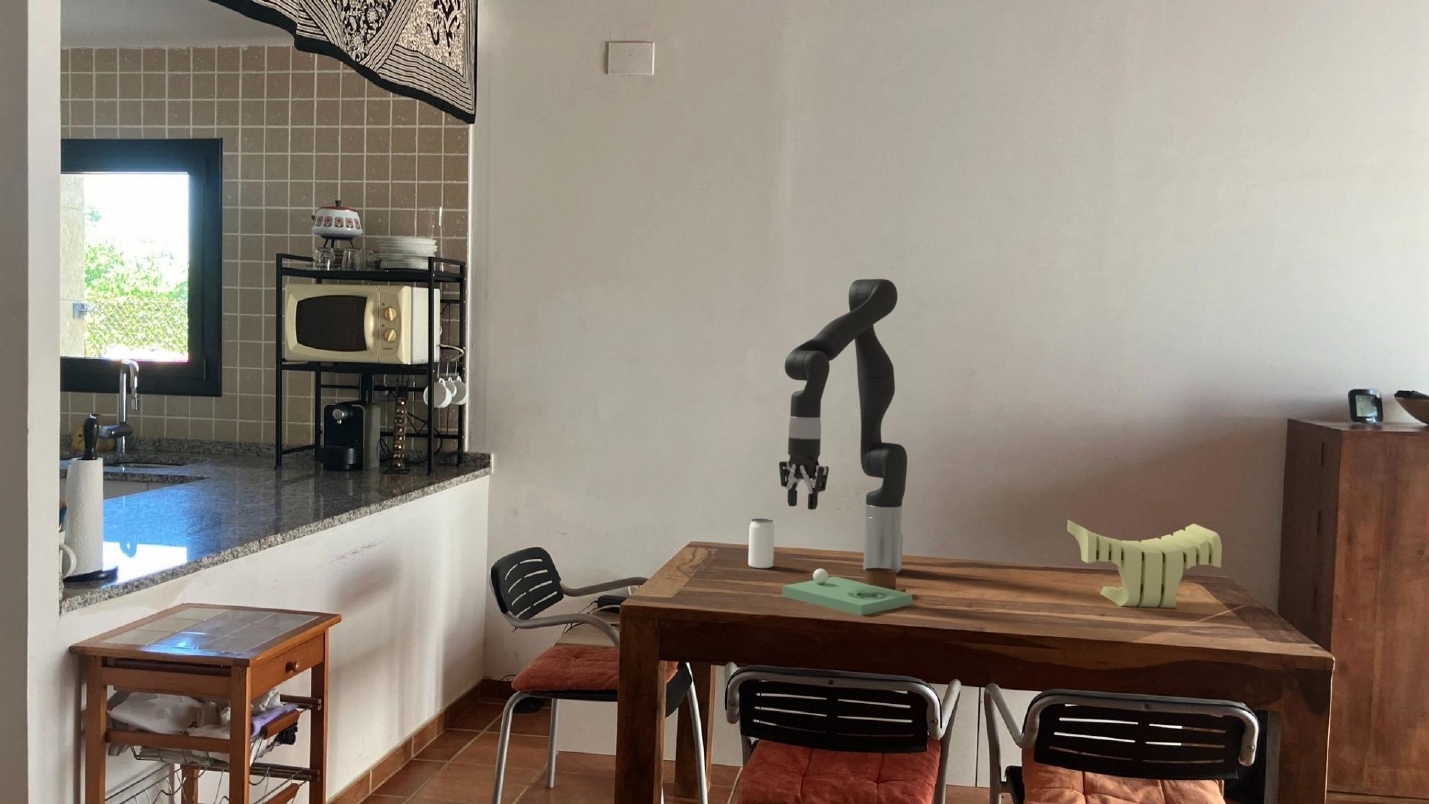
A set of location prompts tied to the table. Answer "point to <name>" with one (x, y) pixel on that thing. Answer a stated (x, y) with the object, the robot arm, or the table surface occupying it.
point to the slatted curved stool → (1150, 562)
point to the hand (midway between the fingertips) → (802, 507)
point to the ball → (820, 576)
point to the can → (761, 543)
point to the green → (847, 595)
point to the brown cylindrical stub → (882, 578)
